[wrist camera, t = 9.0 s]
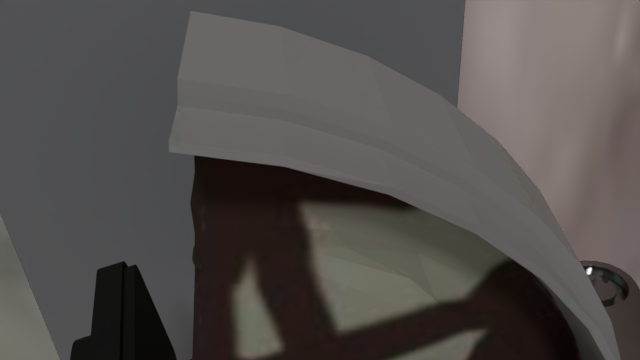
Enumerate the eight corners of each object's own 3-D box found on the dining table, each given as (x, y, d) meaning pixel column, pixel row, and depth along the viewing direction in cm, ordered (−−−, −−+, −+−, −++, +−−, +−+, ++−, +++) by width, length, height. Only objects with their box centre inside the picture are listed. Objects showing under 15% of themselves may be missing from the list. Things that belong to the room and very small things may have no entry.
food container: (384, 353, 19) (517, 752, 10) (203, 356, 18) (172, 808, 9) (467, -20, 13) (922, 123, 5) (215, -49, 12) (167, 65, 3)
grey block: (386, -103, 20) (472, -100, 15) (384, 216, 27) (442, 292, 22) (-36, -72, 17) (-111, -56, 11) (85, 282, 23) (72, 389, 18)
